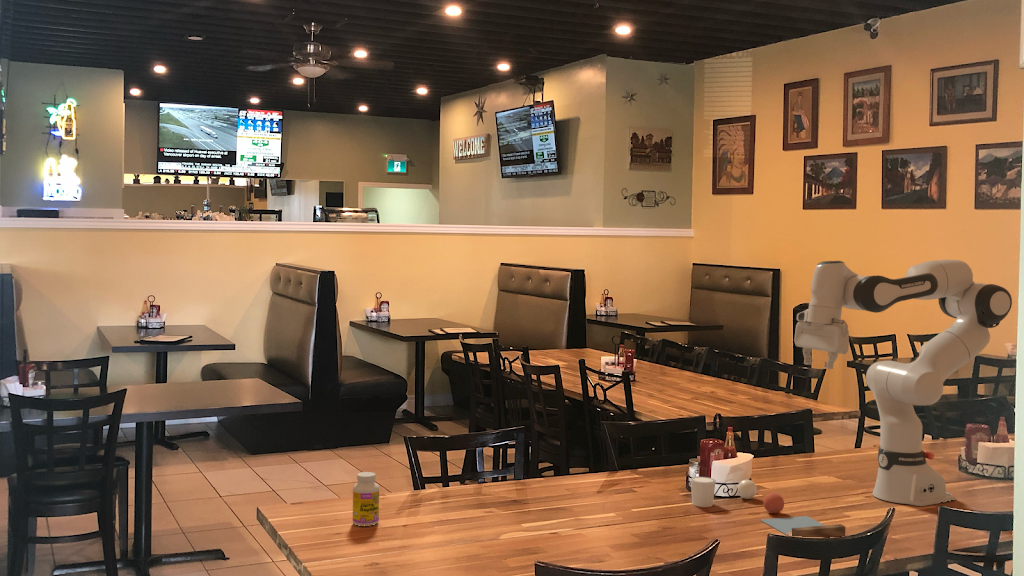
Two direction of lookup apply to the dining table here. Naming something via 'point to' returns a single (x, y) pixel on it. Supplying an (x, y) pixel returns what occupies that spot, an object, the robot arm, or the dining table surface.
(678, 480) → the dining table surface
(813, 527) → the strip
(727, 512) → the dining table surface
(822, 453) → the dining table surface
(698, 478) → the white cup
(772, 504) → the red ball
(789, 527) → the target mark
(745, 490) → the cue ball
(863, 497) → the dining table surface
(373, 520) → the supplement bottle
